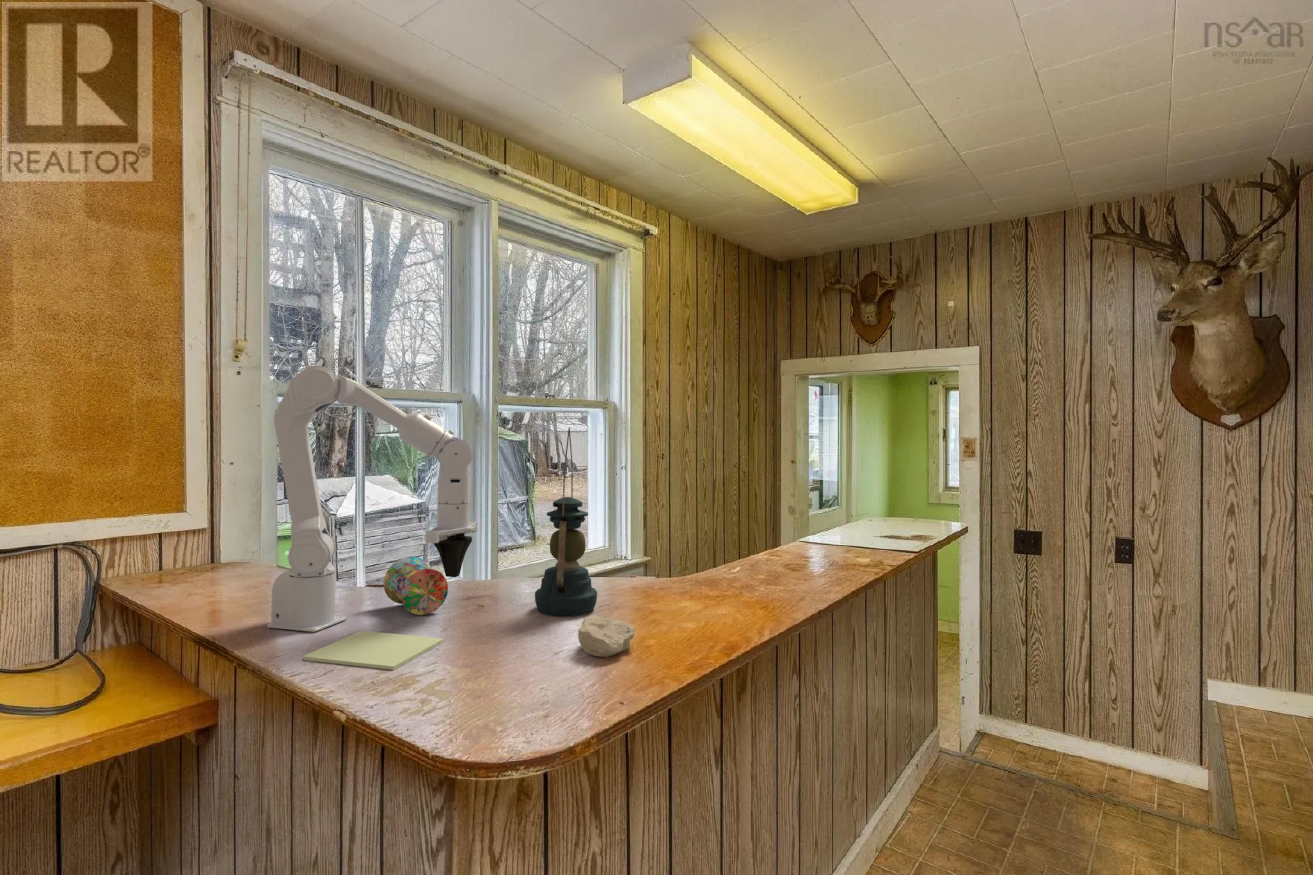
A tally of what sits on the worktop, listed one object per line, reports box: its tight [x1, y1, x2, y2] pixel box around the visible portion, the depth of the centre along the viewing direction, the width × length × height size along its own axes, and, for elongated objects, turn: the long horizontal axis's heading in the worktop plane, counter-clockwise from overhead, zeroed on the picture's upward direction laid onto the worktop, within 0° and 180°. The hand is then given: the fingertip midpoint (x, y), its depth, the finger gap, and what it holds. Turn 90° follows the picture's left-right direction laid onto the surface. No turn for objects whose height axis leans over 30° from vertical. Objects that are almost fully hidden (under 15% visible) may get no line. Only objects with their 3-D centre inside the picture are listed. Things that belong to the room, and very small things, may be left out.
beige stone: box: [577, 615, 635, 658], centre depth 101 cm, size 9×6×10 cm
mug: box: [383, 556, 449, 616], centre depth 122 cm, size 12×9×11 cm
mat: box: [302, 630, 445, 671], centre depth 99 cm, size 15×13×1 cm
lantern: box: [534, 426, 598, 618], centre depth 124 cm, size 14×12×35 cm
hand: (452, 576), depth 120 cm, fingers closed
